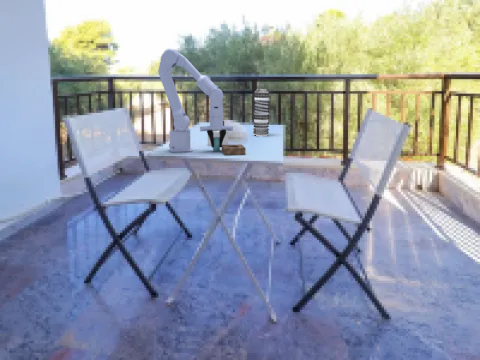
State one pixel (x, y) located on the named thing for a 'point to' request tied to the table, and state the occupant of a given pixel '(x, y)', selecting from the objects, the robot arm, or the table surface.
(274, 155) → the table surface
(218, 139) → the peg
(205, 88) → the robot arm
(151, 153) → the table surface
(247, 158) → the table surface
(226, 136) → the medicine bottle
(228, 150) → the socket block
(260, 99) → the decorative candle
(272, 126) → the table surface
